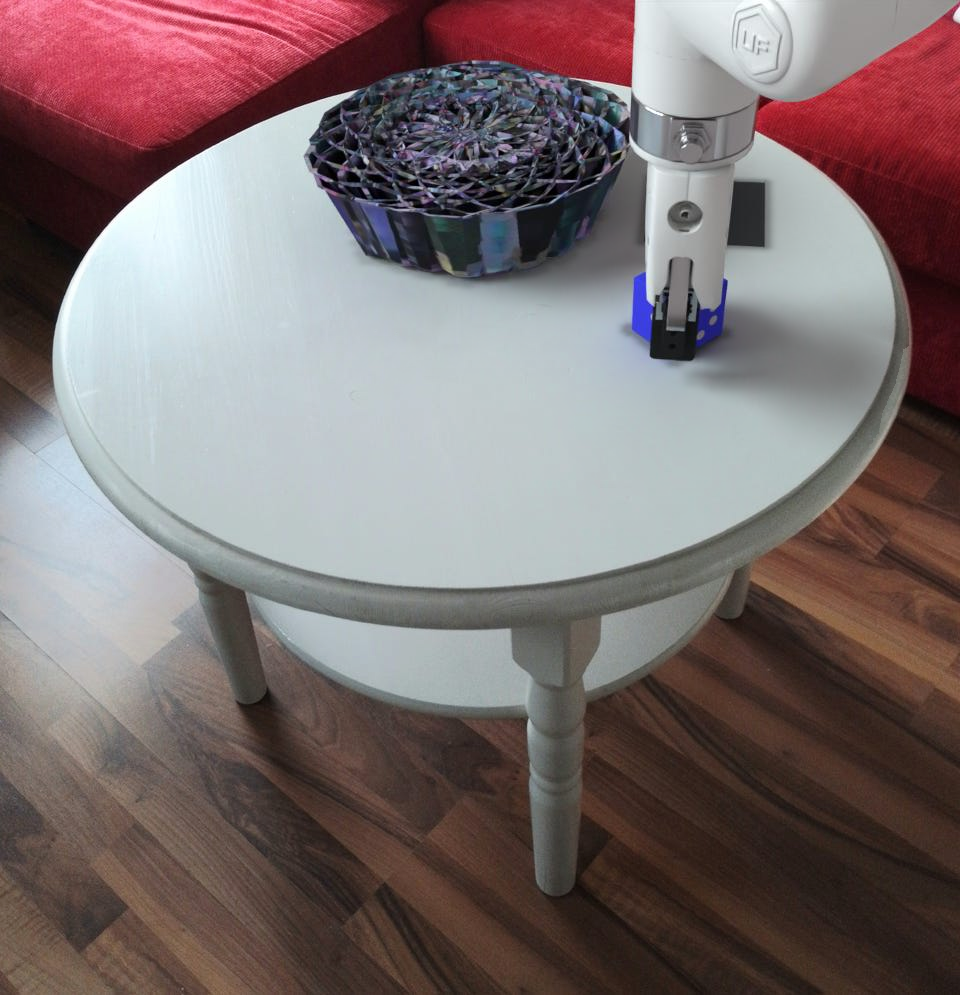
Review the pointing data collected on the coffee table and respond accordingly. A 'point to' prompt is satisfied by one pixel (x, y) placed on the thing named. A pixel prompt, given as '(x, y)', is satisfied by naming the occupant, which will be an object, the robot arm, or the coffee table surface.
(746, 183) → the pad
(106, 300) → the coffee table surface
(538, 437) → the coffee table surface
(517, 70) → the decorative bowl
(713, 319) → the die
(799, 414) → the coffee table surface
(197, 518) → the coffee table surface
